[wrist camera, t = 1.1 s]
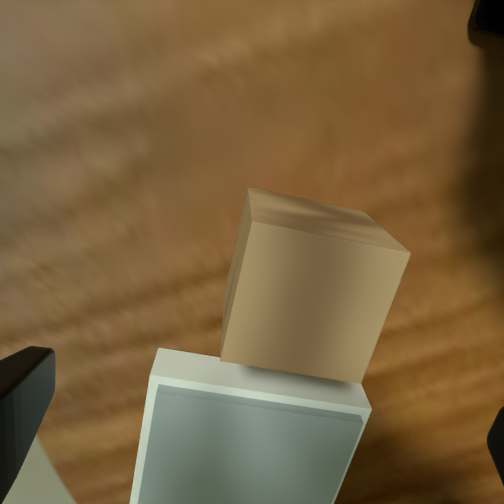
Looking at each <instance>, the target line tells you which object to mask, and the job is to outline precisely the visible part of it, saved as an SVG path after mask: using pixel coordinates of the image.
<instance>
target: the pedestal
mask: <svg viewBox="0 0 504 504" xmlns="http://www.w3.org/2000/svg"><path fill="white" fill-rule="evenodd" d="M371 411H372V408H371V406H370V403H369V401H368V399H367V397H366V394H365V392H364V390H363V387H362V385H361V384H359V383H352V382H346V381H340V380H334V379H328V378H321V377H315V376H309V375H303V374H297V373H290V372H284V371H278V370H272V369H266V368H259V367H253V366H247V365H241V364H235V363H228V362H222V361H220V358H219V357H213V356H207V355H201V354H195V353H189V352H183V351H176V350H170V349H164V348H158V351H157V354H156V358H155V361H154V364H153V367H152V370H151V373H150V378H149V385H148V391H147V397H146V404H145V410H144V416H143V423H142V429H141V435H140V442H139V448H138V454H137V461H136V467H135V473H134V480H133V486H132V492H131V498H130V504H334V502H335V500H336V497H337V495H338V492H339V490H340V487H341V485H342V482H343V480H344V477H345V475H346V472H347V470H348V467H349V465H350V462H351V460H352V458H353V455H354V453H355V450H356V448H357V445H358V443H359V440H360V438H361V435H362V433H363V430H364V428H365V425H366V423H367V420H368V418H369V415H370V413H371Z"/></svg>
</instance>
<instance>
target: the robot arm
mask: <svg viewBox="0 0 504 504" xmlns="http://www.w3.org/2000/svg"><path fill="white" fill-rule="evenodd" d="M483 12H485V13H486V14H487V21H486V22H485V23H483V22H482V21H481V14H482V13H483ZM470 25H471V27H472V28H473V29H474V30H475V31H478V32H482V33H485V34H489V35H493V36H496V37H500V38H504V0H476V2H475V5H474V8H473V10H472V13H471V16H470ZM54 390H55V352H54V350H53V349H51V348H45V347H38V346H30V347H27V348H25V349H23V350H21V351H19V352H17V353H15V354H12V355H10V356H8V357H6V358H4V359H2V360H0V504H2V502H3V500H4V499H5V497H6V495H7V494H8V492H9V490H10V488H11V487H12V485H13V483H14V481H15V479H16V477H17V475H18V473H19V471H20V469H21V466H22V465H23V462H24V460H25V458H26V455H27V453H28V451H29V449H30V446H31V444H32V442H33V440H34V438H35V435H36V433H37V431H38V428H39V426H40V424H41V422H42V419H43V417H44V415H45V413H46V410H47V408H48V406H49V404H50V401H51V399H52V397H53V394H54ZM487 446H488V449H489V451H490V454H491V456H492V459H493V461H494V464H495V466H496V469H497V471H498V474H499V476H500V478H501V481H502V483H503V486H504V406H503V407H502V408H501V409H500V410H499V412H498V414H497V416H496V418H495V420H494V422H493V424H492V426H491V428H490V430H489V433H488V435H487Z"/></svg>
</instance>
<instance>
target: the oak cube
mask: <svg viewBox="0 0 504 504" xmlns="http://www.w3.org/2000/svg"><path fill="white" fill-rule="evenodd" d="M410 254H411V253H410V252H409V251H408V250H407V249H406V248H404V247H403V246H402V245H401V244H400V243H399V242H398V241H396V240H395V239H394V238H393V237H392V236H391V235H390V234H389V233H387V232H386V231H385V230H384V229H383V228H382V227H381V226H379V225H378V224H377V223H376V222H375V221H374V220H373V219H372V218H370V217H369V216H368V215H367V214H366V213H365V212H364V211H359V210H355V209H350V208H345V207H340V206H336V205H331V204H326V203H322V202H317V201H312V200H307V199H303V198H298V197H293V196H288V195H284V194H279V193H274V192H270V191H265V190H260V189H255V188H251V187H248V188H247V193H246V197H245V202H244V206H243V211H242V215H241V220H240V225H239V229H238V234H237V238H236V243H235V248H234V252H233V257H232V261H231V266H230V271H229V275H228V280H227V284H226V289H225V294H224V307H223V323H222V339H221V355H220V361H222V362H228V363H235V364H241V365H247V366H253V367H259V368H266V369H272V370H278V371H284V372H290V373H297V374H303V375H309V376H315V377H321V378H328V379H334V380H340V381H346V382H352V383H359V384H361V382H362V380H363V377H364V374H365V372H366V369H367V366H368V364H369V361H370V359H371V356H372V353H373V351H374V348H375V346H376V343H377V340H378V338H379V335H380V332H381V330H382V327H383V325H384V322H385V319H386V317H387V314H388V312H389V309H390V306H391V304H392V301H393V298H394V296H395V293H396V291H397V288H398V285H399V283H400V280H401V278H402V275H403V272H404V270H405V267H406V265H407V262H408V259H409V257H410Z"/></svg>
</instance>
